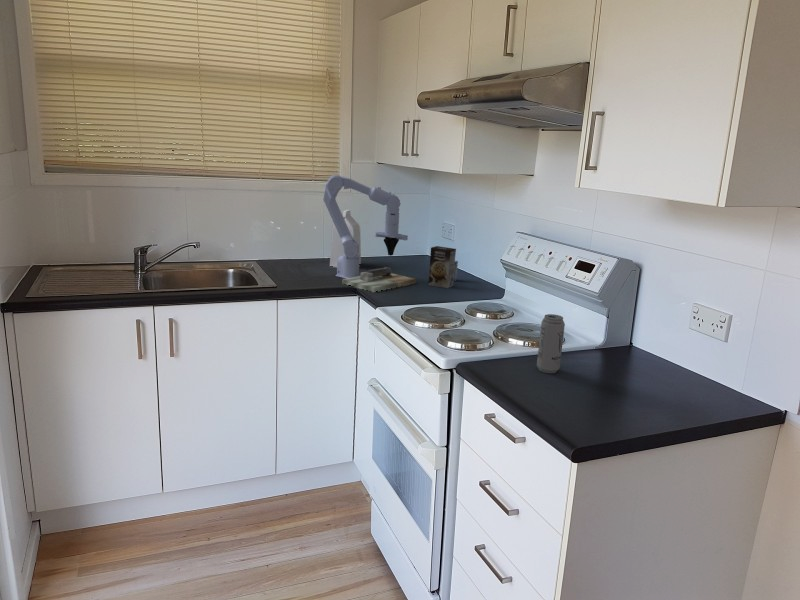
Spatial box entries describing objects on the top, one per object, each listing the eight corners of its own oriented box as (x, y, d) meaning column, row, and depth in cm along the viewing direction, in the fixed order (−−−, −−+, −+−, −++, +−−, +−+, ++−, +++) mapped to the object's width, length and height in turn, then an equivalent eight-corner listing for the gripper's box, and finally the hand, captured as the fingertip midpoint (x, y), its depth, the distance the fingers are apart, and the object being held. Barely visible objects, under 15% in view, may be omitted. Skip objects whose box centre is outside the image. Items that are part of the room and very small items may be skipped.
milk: (353, 268, 279) (354, 212, 273) (329, 266, 282) (330, 210, 275) (360, 264, 291) (362, 210, 284) (338, 262, 293) (339, 208, 287)
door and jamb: (342, 284, 249) (342, 272, 248) (384, 276, 268) (384, 264, 267) (373, 292, 238) (374, 280, 237) (415, 283, 256) (415, 272, 255)
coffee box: (427, 285, 254) (430, 247, 250) (434, 282, 260) (436, 245, 256) (447, 288, 250) (450, 250, 246) (453, 285, 256) (456, 248, 252)
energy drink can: (555, 375, 160) (562, 321, 156) (533, 370, 162) (539, 317, 159) (561, 369, 165) (568, 316, 161) (540, 364, 168) (545, 312, 164)
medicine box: (437, 280, 265) (438, 260, 263) (439, 278, 269) (440, 258, 267) (455, 281, 263) (456, 262, 261) (456, 279, 268) (458, 260, 265)
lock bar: (387, 273, 260) (387, 266, 260) (392, 274, 258) (392, 268, 258) (367, 276, 252) (367, 269, 252) (372, 277, 250) (372, 271, 250)
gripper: (372, 222, 257) (371, 254, 260) (403, 226, 251) (401, 258, 254) (380, 221, 263) (379, 252, 266) (410, 224, 257) (408, 256, 260)
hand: (390, 255), depth 261 cm, fingers closed
